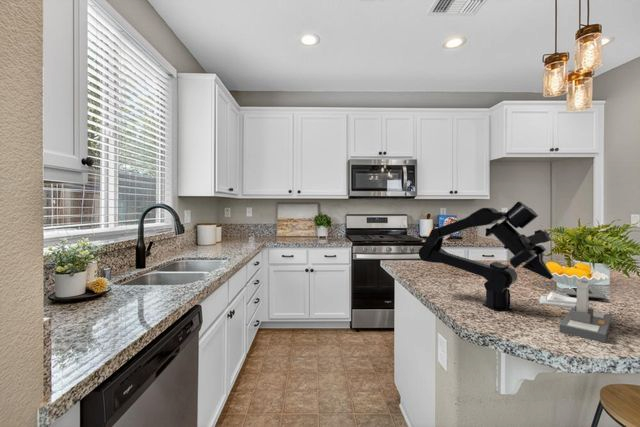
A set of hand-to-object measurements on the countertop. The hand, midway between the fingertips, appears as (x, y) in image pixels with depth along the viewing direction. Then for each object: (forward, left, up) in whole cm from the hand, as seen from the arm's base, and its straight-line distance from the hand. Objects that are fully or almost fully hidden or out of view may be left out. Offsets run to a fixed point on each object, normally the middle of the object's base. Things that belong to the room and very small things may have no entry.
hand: (551, 278), depth 92 cm
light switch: (+18, +12, -13) cm, 26 cm away
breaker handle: (+4, -6, -9) cm, 11 cm away
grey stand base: (+4, -7, -12) cm, 15 cm away
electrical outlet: (+34, +18, -13) cm, 41 cm away
